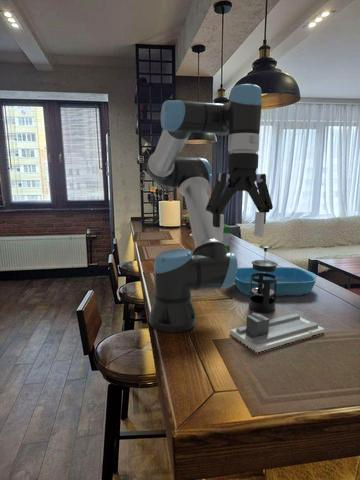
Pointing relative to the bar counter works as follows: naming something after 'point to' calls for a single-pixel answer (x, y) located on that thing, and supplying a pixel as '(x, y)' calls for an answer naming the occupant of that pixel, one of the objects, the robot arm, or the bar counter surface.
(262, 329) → the fader tab
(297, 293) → the casserole dish
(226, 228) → the hardback book
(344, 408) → the bar counter surface
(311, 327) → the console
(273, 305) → the french press
